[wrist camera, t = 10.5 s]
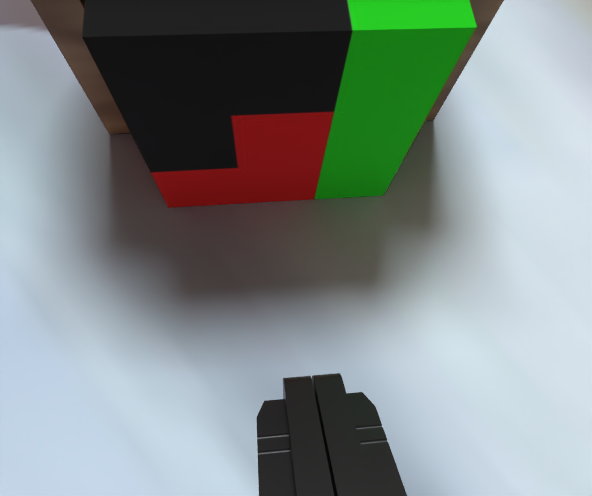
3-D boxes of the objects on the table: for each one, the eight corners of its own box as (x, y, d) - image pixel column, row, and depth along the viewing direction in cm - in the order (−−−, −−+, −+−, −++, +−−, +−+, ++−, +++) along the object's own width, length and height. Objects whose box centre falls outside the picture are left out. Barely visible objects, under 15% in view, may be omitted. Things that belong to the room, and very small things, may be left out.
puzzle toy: (169, 35, 23) (102, -213, 14) (355, 31, 24) (410, -205, 15) (168, 208, 20) (81, 36, 11) (383, 195, 21) (476, 27, 12)
